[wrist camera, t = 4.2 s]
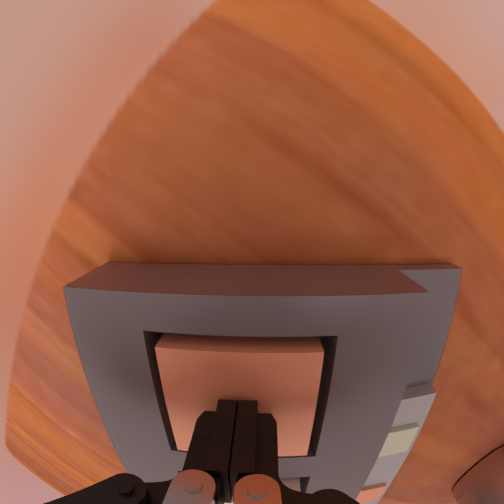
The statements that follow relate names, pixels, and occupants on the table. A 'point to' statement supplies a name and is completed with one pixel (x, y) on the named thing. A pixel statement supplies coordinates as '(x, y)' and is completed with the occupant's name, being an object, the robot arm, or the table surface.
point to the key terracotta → (242, 381)
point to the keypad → (273, 325)
